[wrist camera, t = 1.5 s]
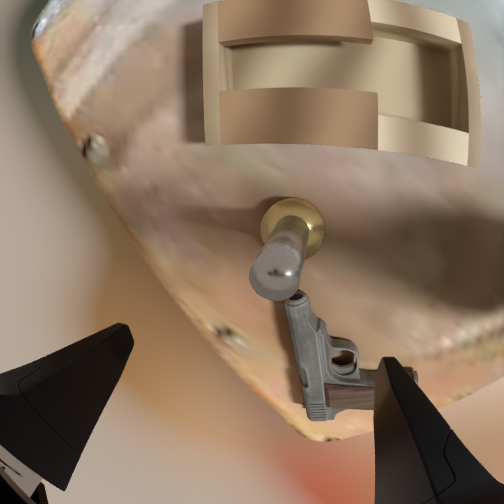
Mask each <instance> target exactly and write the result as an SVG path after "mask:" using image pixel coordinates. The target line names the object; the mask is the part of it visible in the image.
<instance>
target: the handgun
mask: <svg viewBox="0 0 504 504" xmlns="http://www.w3.org/2000/svg"><path fill="white" fill-rule="evenodd" d="M281 308H282V310H284V311H285V312H286V315H287V320H288V325H289V330H290V335H291V340H292V344H293V349H294V354H295V358H296V363H297V367H298V371H299V376H300V382H301V387H302V392H303V397H304V398H303V402H304V403H302V408H306V412H307V417H308V419H310V420H311V421H327V419H328V420H334V418H335V415H336V414H337V413H339V412H341V411H343V410H346V409H360V410H374V389H375V374H376V371H370V370H363V369H359V355H358V348H357V346H356V345H355V344H354V343H353V342H351V341H347V340H340V339H332V338H331V337H330V336H329V335H328V333H327V330H326V323H325V322H324V321H323V320H322V319H321V318H319V319H318V317H317V316H316V315H315V314H314V313H313V312H312V310H311V307H310V302H309V297H308V296H307V295H306V293H304V292H301V291H296V293H295V294H294V295H293V296H291V297H290V298H288V299H285V301H281ZM342 350H348V351H351V352H353V353H354V354H355V356H356V362H355V363H354V362H352V363H350V364H347V365H337V364H335V363H334V362H333V361H332V359H331V358H332V356H333V354H334V353H336V352H338V351H342ZM407 373H408V374H409V375H410V376H411V377H412V379H413V380H414V381H415V382H416V384H417V385H418V375H417V371H412V372H407Z"/></svg>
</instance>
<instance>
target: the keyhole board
mask: <svg viewBox="0 0 504 504" xmlns="http://www.w3.org/2000/svg"><path fill="white" fill-rule="evenodd" d="M203 104H204V130H205V146H207V145H225V144H261V143H277V144H313V145H331V146H345V147H356V148H366V149H375V150H383V151H391V152H398V153H405V154H411V155H417V156H423V157H429V158H434V159H439V160H444V161H449V162H453V163H458V164H462V165H466V166H470V167H474V168H478V169H479V166H480V150H481V104H480V89H479V78H478V70H477V63H476V56H475V51H474V45H473V40H472V35H471V31H470V27H469V23H467V22H464V21H462V20H459V19H456V18H454V17H451V16H448V15H445V14H442V13H439V12H436V11H433V10H429V9H426V8H422V7H418V6H414V5H410V4H406V3H402V2H397V1H392V0H224V1H219V2H214V3H209V4H205V5H203Z"/></svg>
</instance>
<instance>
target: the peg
mask: <svg viewBox="0 0 504 504" xmlns="http://www.w3.org/2000/svg"><path fill="white" fill-rule="evenodd" d="M260 233H261V238H262V241H263V243H264V246H263V248H262V250H261V251H260V253H259V255H258V257H257V259H256V260H255V262H254V264H253V266H252V267H251V270H250V273H249V279H250V283H251V286H252V287H253V289H254V290H255V291H256V293H258V294H259V295H260V296H262V297H263V298H265V299H268V300H272V301H281V300H285V299H288V298H290V297H291V296H293V295H294V294H295V293H296V291H297V289H298V287H299V283H300V279H301V274H302V269H303V264H304V260H305V259H307V258H309V257H311V256H312V255H314V254H315V253H316V252H317V251H318V249H319V248H320V246H321V244H322V242H323V238H324V221H323V218H322V215H321V214H320V212H319V210H318V209H317V208H316V207H315V206H314V205H313V204H311V203H310V202H308V201H307V200H304V199H301V198H296V197H289V198H284V199H281V200H279V201H277V202H275V203H274V204H273V205H272V206H271V207H270V208H269V209H268V210H267V212H266V213H265V215H264V216H263V218H262V221H261V226H260Z"/></svg>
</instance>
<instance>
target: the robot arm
mask: <svg viewBox="0 0 504 504" xmlns="http://www.w3.org/2000/svg"><path fill="white" fill-rule="evenodd" d="M133 346H134V339H133V337H132V334H131V331H130V329H129V326H128V325H126V324H123V323H116V324H114V325H112V326H110V327H108V328H106V329H103V330H101V331H99V332H97V333H95V334H93V335H90V336H88V337H86V338H84V339H82V340H80V341H77V342H75V343H73V344H71V345H69V346H67V347H64V348H62V349H60V350H58V351H56V352H54V353H52V354H49V355H47V356H46V357H42V358H40V359H38V360H36V361H33V362H32V363H29V364H26V365H23V366H21V367H18V368H16V369H12V370H10V371H7V372H4V373H1V374H0V504H48V500H47V496H46V491H45V486H44V484H43V483H42V482H41V480H42V478H43V479H45V480H46V481H48V482H49V483H51V484H53V485H54V486H56V487H57V488H59V489H61V490H62V491H65V490H66V488H67V486H68V483H69V481H70V479H71V476H72V474H73V472H74V470H75V467H76V465H77V463H78V461H79V459H80V456H81V454H82V452H83V450H84V448H85V446H86V443H87V441H88V439H89V437H90V435H91V433H92V431H93V429H94V427H95V425H96V423H97V421H98V419H99V417H100V415H101V413H102V411H103V409H104V407H105V405H106V403H107V401H108V399H109V398H110V396H111V394H112V392H113V390H114V388H115V386H116V384H117V383H118V381H119V379H120V377H121V375H122V372H123V370H124V368H125V365H126V363H127V360H128V358H129V355H130V353H131V351H132V349H133ZM373 420H374V441H375V504H504V484H502V483H500V482H498V481H497V480H496V479H495V478H494V477H493V476H492V475H491V474H490V473H489V472H488V471H487V470H486V469H485V468H484V467H483V466H482V465H481V463H479V461H478V460H477V459H476V458H475V457H474V456H473V455H472V454H471V453H470V451H469V450H468V449H467V448H466V447H465V445H464V444H463V443H462V442H461V440H460V439H459V438H458V437H457V435H456V434H455V433H454V431H453V430H452V429H450V426H449V425H448V423H447V422H446V421H445V419H444V418H443V417H442V415H441V414H440V413H439V412H438V410H437V409H436V408H435V406H434V405H433V404H432V403H431V401H430V400H429V399H428V397H427V396H426V395H425V394H424V392H423V391H422V390H421V389H420V387H419V386H418V385H417V384H416V382H415V381H414V380H413V379H412V377H411V376H410V375H409V374H408V373H407V371H406V370H405V369H404V368H403V366H402V365H401V364H400V363H399V362H398V360H397V359H396V358H395V357H383V358H382V359H381V361H380V364H379V366H378V369H377V371H376V374H375V389H374V418H373Z"/></svg>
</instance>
